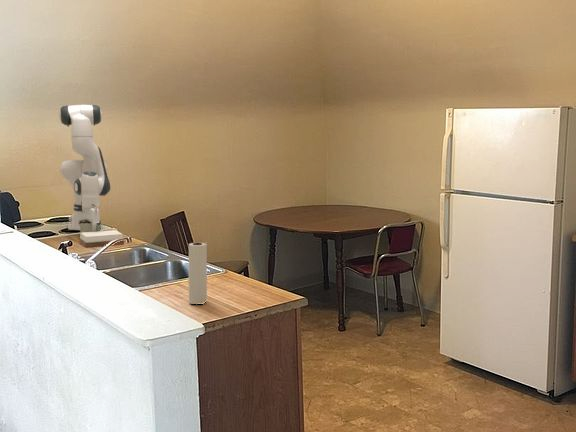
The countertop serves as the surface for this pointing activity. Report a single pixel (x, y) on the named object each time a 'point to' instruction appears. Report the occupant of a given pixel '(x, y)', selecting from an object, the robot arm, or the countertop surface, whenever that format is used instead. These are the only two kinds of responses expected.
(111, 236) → the tower top
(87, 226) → the food container
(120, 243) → the tower bottom
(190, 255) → the paper towel roll
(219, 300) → the countertop surface
